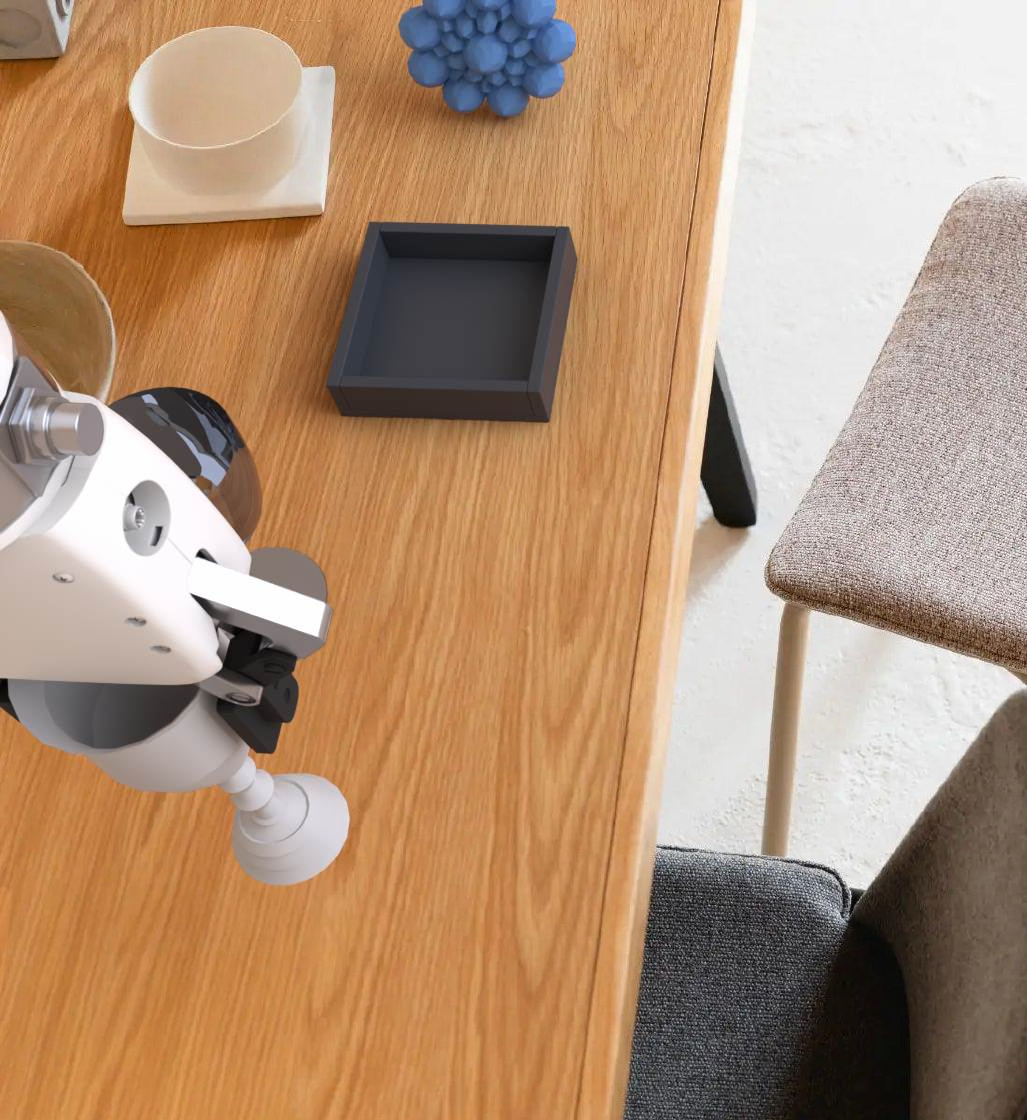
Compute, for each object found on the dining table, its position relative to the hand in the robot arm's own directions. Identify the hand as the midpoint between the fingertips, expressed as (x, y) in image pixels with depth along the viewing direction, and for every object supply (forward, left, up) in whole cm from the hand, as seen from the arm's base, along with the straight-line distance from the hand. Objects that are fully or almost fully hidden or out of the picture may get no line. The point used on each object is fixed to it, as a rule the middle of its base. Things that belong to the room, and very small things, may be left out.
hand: (171, 708), depth 53 cm
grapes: (-2, +56, -25) cm, 61 cm away
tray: (-2, +36, -25) cm, 44 cm away
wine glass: (-10, +17, -25) cm, 32 cm away
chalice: (0, 0, -13) cm, 13 cm away
